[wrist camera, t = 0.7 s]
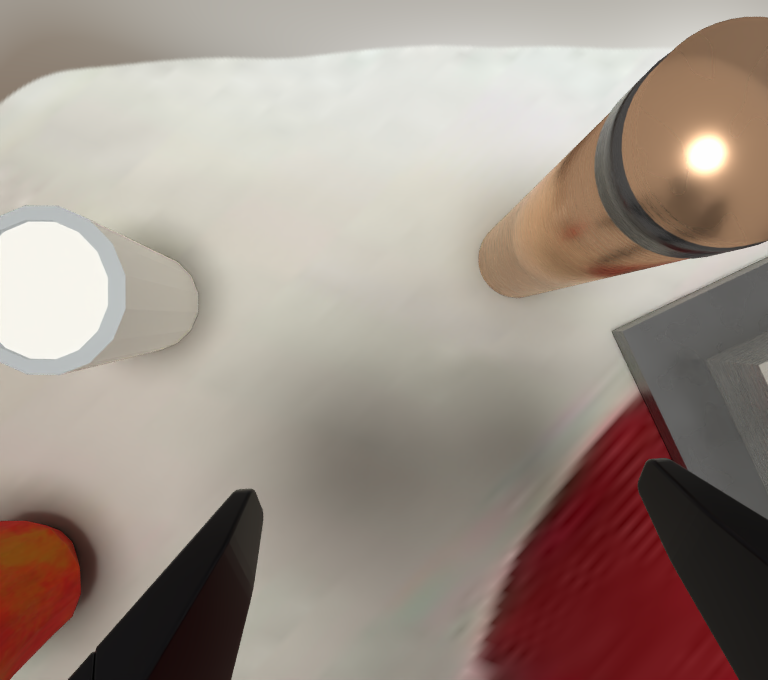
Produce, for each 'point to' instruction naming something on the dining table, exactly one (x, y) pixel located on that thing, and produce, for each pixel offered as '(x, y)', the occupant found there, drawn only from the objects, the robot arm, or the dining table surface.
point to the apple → (33, 589)
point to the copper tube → (651, 174)
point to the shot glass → (84, 294)
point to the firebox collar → (710, 381)
